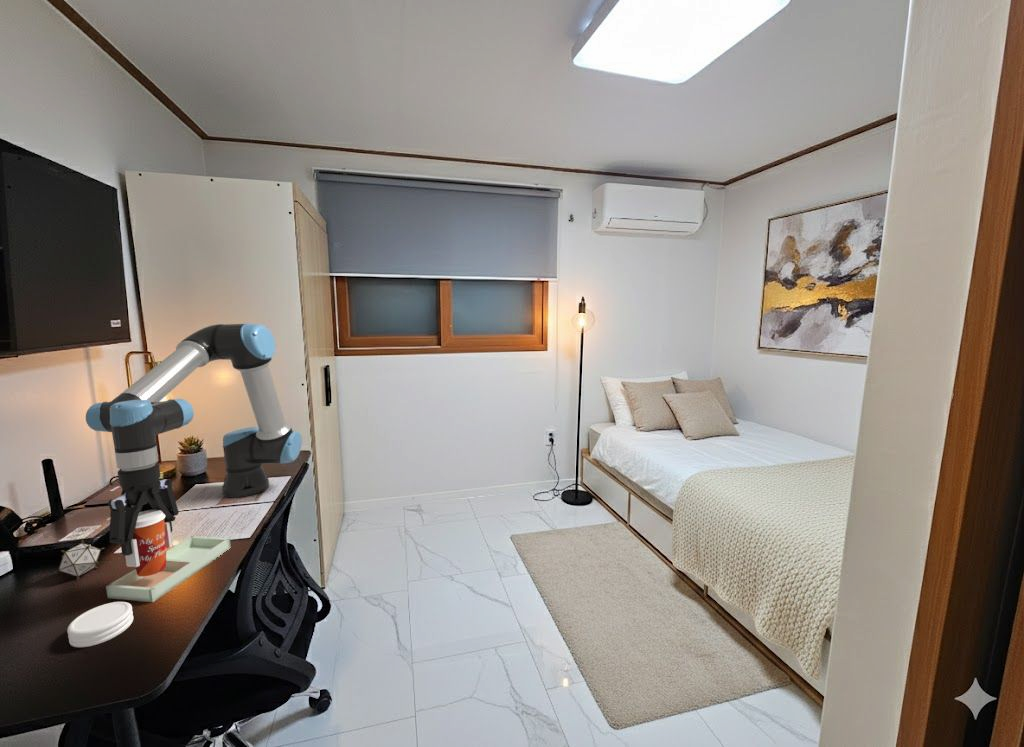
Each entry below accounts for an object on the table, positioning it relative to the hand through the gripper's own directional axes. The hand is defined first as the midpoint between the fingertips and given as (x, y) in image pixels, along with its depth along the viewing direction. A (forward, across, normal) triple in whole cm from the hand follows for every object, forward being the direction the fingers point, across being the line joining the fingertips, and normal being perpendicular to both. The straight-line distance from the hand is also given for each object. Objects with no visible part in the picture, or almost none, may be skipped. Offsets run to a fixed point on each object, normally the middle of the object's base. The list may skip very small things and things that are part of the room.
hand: (150, 555), depth 107 cm
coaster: (+8, +15, +4) cm, 18 cm away
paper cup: (+4, 0, 0) cm, 4 cm away
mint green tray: (+8, -6, 0) cm, 9 cm away
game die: (+8, -2, -23) cm, 24 cm away
